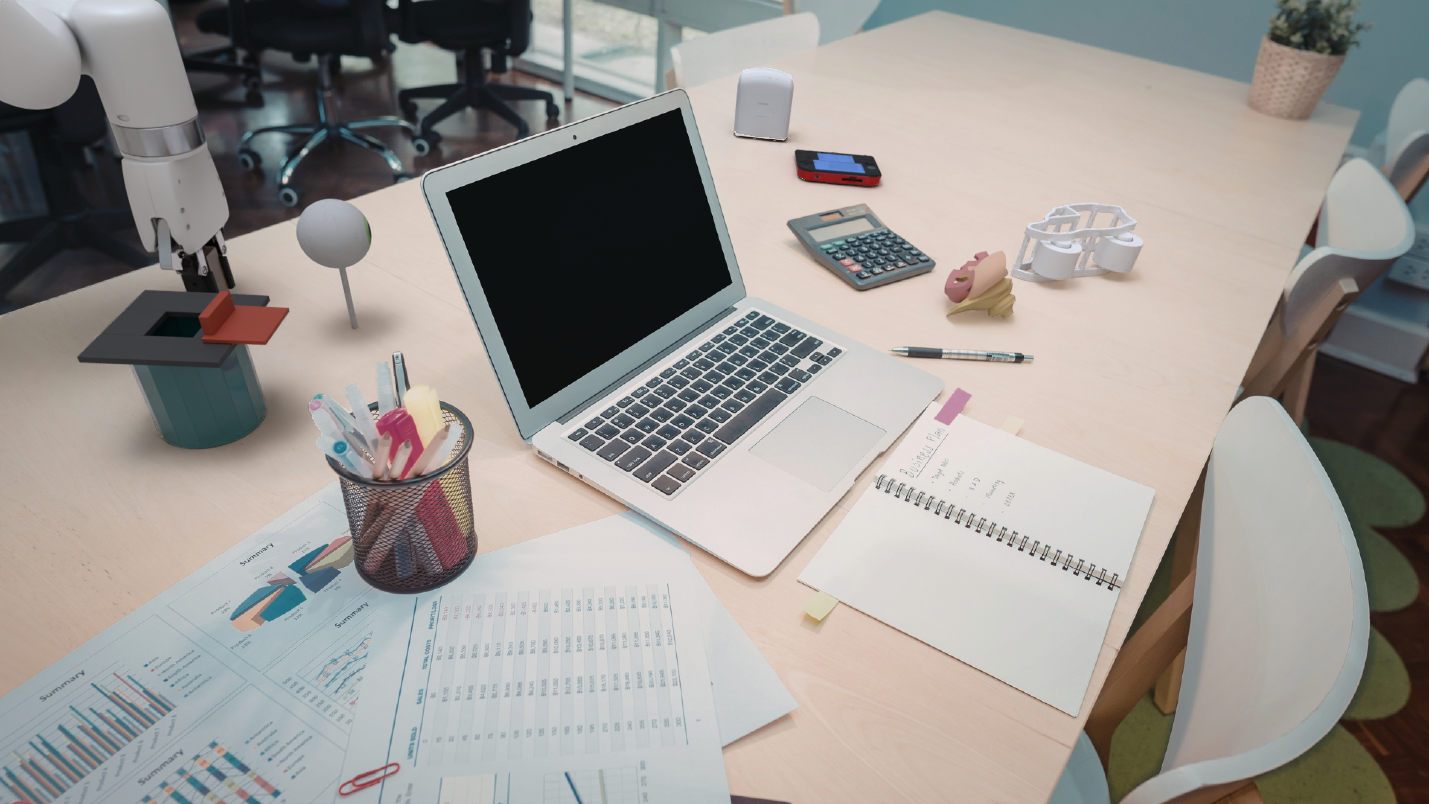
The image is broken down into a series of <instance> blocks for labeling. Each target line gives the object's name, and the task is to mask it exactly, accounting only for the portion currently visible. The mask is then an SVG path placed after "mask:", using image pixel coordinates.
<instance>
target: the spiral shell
mask: <svg viewBox="0 0 1429 804" xmlns="http://www.w3.org/2000/svg"><path fill="white" fill-rule="evenodd" d="M973 259H975V260H967V261H966V263H964V264H963V265H962V266H961V267H960V268H959V269H955V268H954V269H952V271H951V272H950V273H949V275H948V276H947V279H946V281H945V285H944V289H943V290H944V291H943V292H944V295H946V296H947V298H948V300H949V301H950V302H952V303H954V304H956V305H955V306H954V307H952V308H951V309H949V311H948V312H947V314H946V315H945V317H950V316H954V315H958V314H962V313H966V312H969V311H981V312H982V311H983V312H984V311H985V312H986V311H987V315H988V316H990V317H991V318H994V317H1003V318H1004V319H1007V318H1010V317H1011V316H1012V315H1014V309H1013V306H1014V304H1015V302H1016V301H1017V299H1016V295H1015V294H1012V291H1013V285H1014V283H1013V278H1009V277H1007V276H1008V275H1009V271H1008V269H1007V268H1006V267H1007V257H1006V253H1005V251H1004V250H998V251H995V252H993V253H991V254H989V253H988V251H987V250H984V251H980V252H977V253H975V254H974V256H973Z"/></svg>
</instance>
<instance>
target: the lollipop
mask: <svg viewBox="0 0 1429 804" xmlns="http://www.w3.org/2000/svg"><path fill="white" fill-rule="evenodd" d="M295 227H296V229H295V235H296V240H297V242H298V244H299V246H300V249H301V250H302V251H303V253H304V254H305V255H306V256H307V257H308V258H309V259H310V260H311V261H313V262H314V263H316V264H318V265H320V266H322V267H326V268H329V269H338V271H339V276H340V280H341V285H342V290H343V293H344V298H345V303H346V307H347V311H348V316H349V317H348V318H349V321H350V327H351V329H357V328H358V327H359V326H358V321H357V316H356V312H355V307H354V302H353V298H352V293H351V288H350V283H349V278H348V273H347V269H346V268H349V267H352V266H355V265H356V264H358V263H359V262H360V261H362V260H363V259H364V258H365V257H366V256H367V254H368V252H369V251H370V248H371V245H372V237H373V236H372V229H371V226H370V223H369V221H368V219H367V217H366V216H365V214H364V213H363V212H362V211H361V210H360V209H359V208H358V207H356V206H355V205H354V204H352V203H350V202H348V201H346V200H342V199H337V198H325V199H320V200H318V201H317V200H316V201H315V202H313V203H311V204H310V205H308V206H306V207H305V208H304V210H303V211H302V212H301V214H300V216H299V217H298V220H297V223H296V226H295Z"/></svg>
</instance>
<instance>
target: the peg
mask: <svg viewBox="0 0 1429 804" xmlns="http://www.w3.org/2000/svg"><path fill="white" fill-rule="evenodd" d="M202 250H203V254H204V257H205V261H206V264H207V268H208V271H213V274H214V277H215V280H216V283H217V286H218V289H219V292H220V291H229V292H230V291H231V290H230V289H229V288H228V285H227V282H226V278H225V275H224V272H223V269H222V266H221V263H220V260H219V256H218V253H217V250H216V247H213V246H202ZM182 255H183V258H189V259H191V260H193V261H194V259H193V255H192V254H182ZM230 293H231V292H230Z"/></svg>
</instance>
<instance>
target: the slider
mask: <svg viewBox="0 0 1429 804" xmlns="http://www.w3.org/2000/svg"><path fill="white" fill-rule="evenodd" d="M229 291H230V290H229ZM229 291H220V292H219V294H218V295H217V296H216V297H215V298H214V299H213V301H212V302H211V303H210V304H209V305H208V306H207V307H206V309H205V310H204V311H203V312H202V313H201V314H200V316H199V317H198V318H199V321H200V323H201V326H202V329H203V332H204V334H205V335H204V336H203V337H202V342H203V343H227V344H248V345H252V346H253V345H254V346H267V344H268V343H269V342H270V340H271V339H272V337H273V336H274V334H275V333H276V332H277V330H278V329H279V327H280V326H281V325H282V323H283V322H284V321H285V319H286V317H287V316H288V314H289V313H290V311H291V310H290V308H289V307H281V306H280V307H279V306H266V307H261V306H239V305H234V304H233V300H232V297H231V294H232V293H231V292H229Z"/></svg>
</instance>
